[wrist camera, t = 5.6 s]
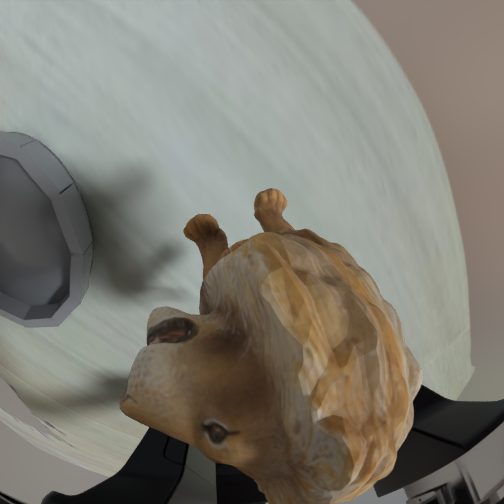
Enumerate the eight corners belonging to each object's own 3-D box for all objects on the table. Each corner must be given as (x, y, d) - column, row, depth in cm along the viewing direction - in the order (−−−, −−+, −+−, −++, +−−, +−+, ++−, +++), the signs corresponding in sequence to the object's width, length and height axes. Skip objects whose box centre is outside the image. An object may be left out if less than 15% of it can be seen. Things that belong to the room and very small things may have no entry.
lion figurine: (108, 139, 6) (124, 572, 1) (286, 93, 7) (538, 391, 1) (211, 342, 18) (252, 468, 12) (286, 318, 18) (337, 438, 13)
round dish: (122, 300, 21) (115, 321, 19) (3, 312, 20) (-6, 328, 18) (60, 97, 12) (41, 98, 10) (-56, 173, 11) (-72, 182, 9)
